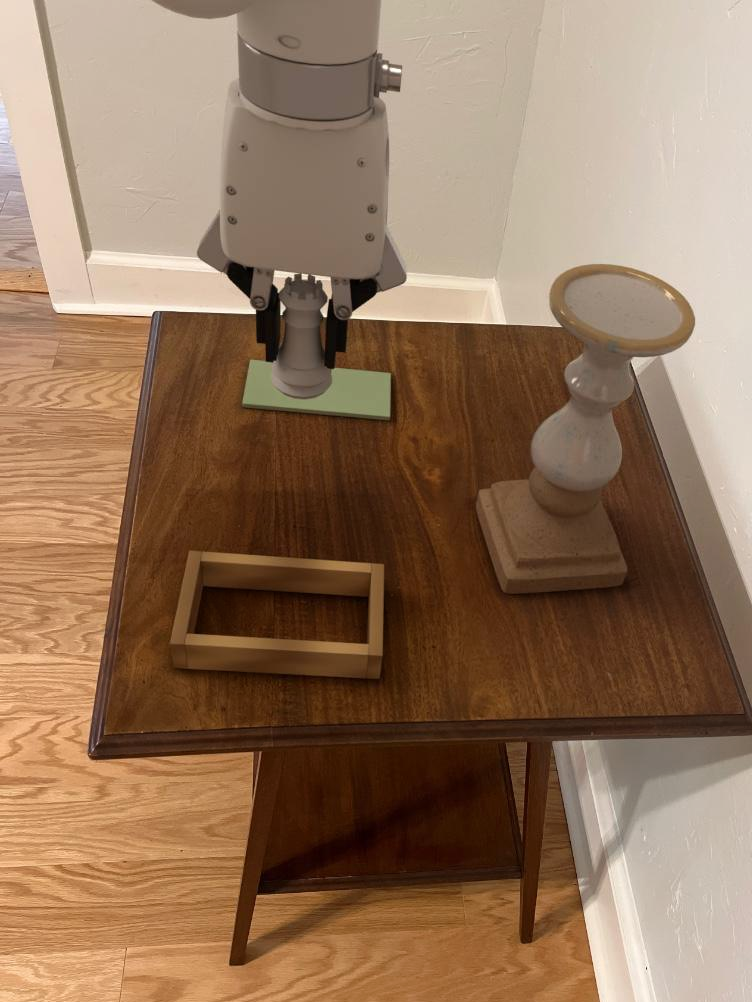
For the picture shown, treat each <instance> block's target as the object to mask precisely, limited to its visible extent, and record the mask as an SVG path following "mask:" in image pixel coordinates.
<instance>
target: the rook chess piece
mask: <svg viewBox="0 0 752 1002" xmlns="http://www.w3.org/2000/svg"><path fill="white" fill-rule="evenodd" d="M323 286H324V285H323V282H322V281H321V279H319V280H316V275H308V274H307V278H306V279H303V274H299V273H293V277H291V276H287V277H286V278H285V279H284V285H283V287H282V288H281V289H280V290H279V291H278V293H279V299H280V301H281V304H282V305H283V306H284V307H285V309H284V310H283V311H282V312H281V313H282V314H281V318H282V320H283V321H284V333H283V338H282V339H283V340H282V343H281V345H280V346H279V349H278V355H277V360H276V361H274V362H273V363H272V366H271V369H272V371H271V377H270V379H271V381H272V383H273V385H274V386H275V387H276V388H277V389H278V390H279V391H280V392H281V393H283V394H284V395H286V396H289V397H291V398H294V399H304V400H305V399H312V398H316V397H318V396H320V395H322V394H323V393H324V392H325V391H327V389H328V388H329V387H330V386H331V385H332V375H331V372H332V369H327V366H324V359H325V348H323V341H322V332H321V324H322V323H323V322H324V315H323V313H322V311H321V309H322V308H323V307H325V305H326V304H327V303H328V301H329V297H328V295H327V293H326V291H325V290H324V289H323Z"/></svg>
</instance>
